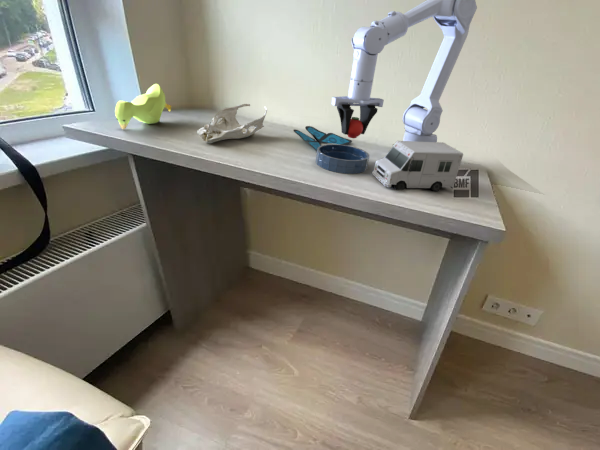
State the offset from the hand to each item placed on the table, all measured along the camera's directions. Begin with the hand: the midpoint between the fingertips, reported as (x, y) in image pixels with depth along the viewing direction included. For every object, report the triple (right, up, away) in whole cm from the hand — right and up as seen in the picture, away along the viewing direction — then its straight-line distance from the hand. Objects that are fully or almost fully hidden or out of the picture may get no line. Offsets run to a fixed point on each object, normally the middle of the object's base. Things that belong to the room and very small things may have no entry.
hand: (352, 133), depth 100 cm
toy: (-64, +8, +19) cm, 67 cm away
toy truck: (+14, -15, -5) cm, 21 cm away
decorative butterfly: (-9, +1, +18) cm, 20 cm away
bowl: (-3, -9, +2) cm, 9 cm away
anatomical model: (-36, +3, +17) cm, 39 cm away
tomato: (0, -1, +1) cm, 1 cm away
